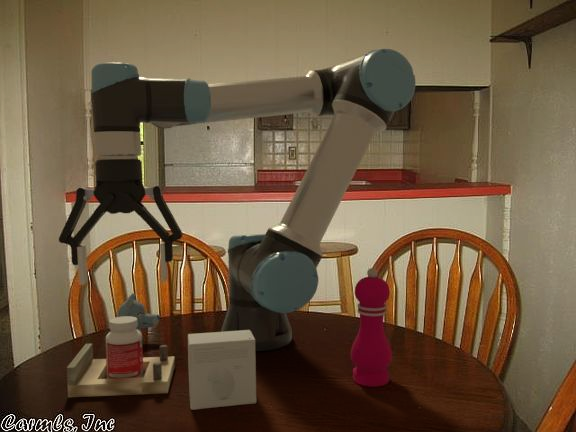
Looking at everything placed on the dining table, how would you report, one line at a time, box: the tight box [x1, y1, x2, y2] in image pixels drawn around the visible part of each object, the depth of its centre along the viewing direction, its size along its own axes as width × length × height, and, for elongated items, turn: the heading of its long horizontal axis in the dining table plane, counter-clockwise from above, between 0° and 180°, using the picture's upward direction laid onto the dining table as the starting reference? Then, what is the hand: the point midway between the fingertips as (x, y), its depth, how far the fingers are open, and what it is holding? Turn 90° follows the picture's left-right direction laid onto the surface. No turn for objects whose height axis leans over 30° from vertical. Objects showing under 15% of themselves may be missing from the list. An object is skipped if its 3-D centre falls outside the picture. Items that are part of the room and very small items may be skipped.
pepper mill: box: [350, 267, 393, 388], centre depth 97 cm, size 7×7×20 cm
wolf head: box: [116, 292, 161, 335], centre depth 119 cm, size 6×9×10 cm
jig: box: [66, 343, 176, 398], centre depth 97 cm, size 16×12×5 cm
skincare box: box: [187, 330, 257, 411], centre depth 90 cm, size 10×6×10 cm, turn 102°
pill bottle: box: [105, 316, 144, 379], centre depth 97 cm, size 6×6×11 cm
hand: (124, 282), depth 96 cm, fingers open, 13 cm apart
